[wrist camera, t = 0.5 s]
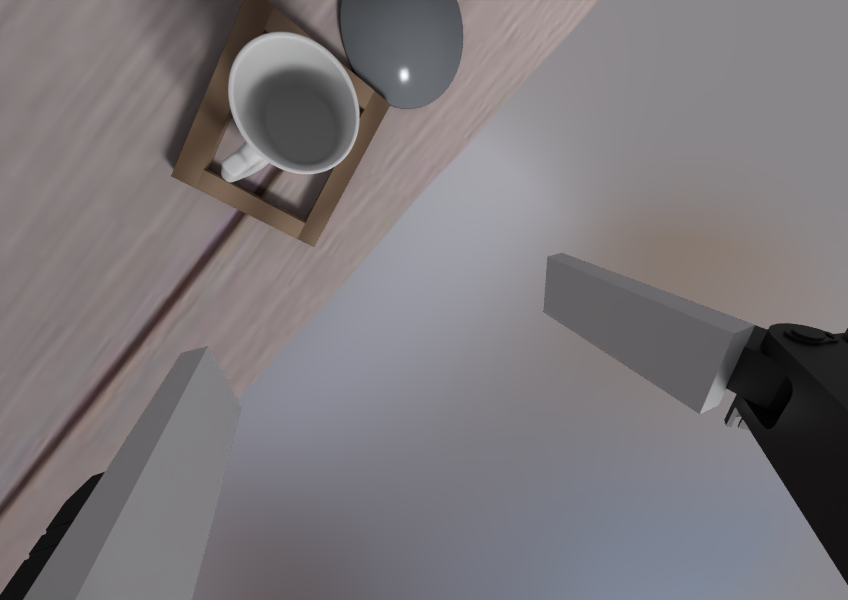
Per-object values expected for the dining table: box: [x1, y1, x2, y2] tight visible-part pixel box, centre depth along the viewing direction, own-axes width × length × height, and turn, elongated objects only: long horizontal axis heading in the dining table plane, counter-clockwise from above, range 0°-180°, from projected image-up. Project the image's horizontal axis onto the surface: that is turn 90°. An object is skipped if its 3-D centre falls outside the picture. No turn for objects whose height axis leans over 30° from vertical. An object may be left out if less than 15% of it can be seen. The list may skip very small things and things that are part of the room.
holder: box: [171, 0, 390, 247], centre depth 26 cm, size 12×15×2 cm
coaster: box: [340, 0, 463, 109], centre depth 27 cm, size 11×11×1 cm
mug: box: [221, 32, 359, 182], centre depth 22 cm, size 10×7×12 cm, turn 124°
